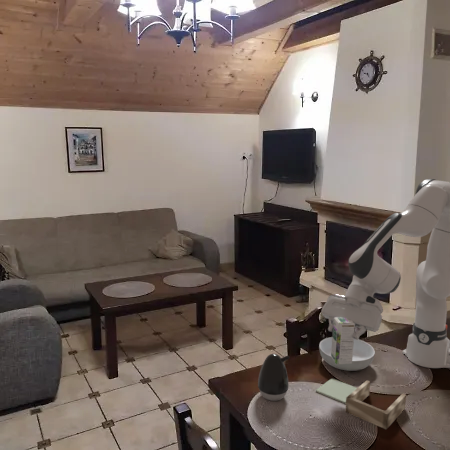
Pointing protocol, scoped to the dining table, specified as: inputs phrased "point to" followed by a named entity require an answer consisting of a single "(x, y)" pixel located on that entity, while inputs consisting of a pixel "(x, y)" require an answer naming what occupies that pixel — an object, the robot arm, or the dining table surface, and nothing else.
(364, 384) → the holder bay
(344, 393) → the sage mat
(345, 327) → the syrup box
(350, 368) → the serving bowl
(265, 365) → the pump dispenser
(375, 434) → the dining table surface
